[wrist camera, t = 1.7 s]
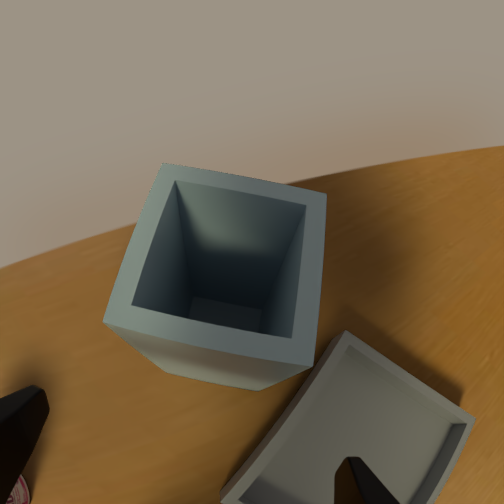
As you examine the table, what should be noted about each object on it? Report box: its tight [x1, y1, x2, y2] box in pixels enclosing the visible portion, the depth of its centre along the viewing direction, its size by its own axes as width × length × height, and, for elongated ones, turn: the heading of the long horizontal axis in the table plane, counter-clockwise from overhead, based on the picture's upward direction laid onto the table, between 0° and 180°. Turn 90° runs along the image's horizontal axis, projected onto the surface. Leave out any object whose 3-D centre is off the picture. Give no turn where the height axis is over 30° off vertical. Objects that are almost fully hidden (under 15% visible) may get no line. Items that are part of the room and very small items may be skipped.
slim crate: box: [103, 163, 327, 391], centre depth 15 cm, size 6×6×12 cm
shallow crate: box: [220, 330, 476, 504], centre depth 16 cm, size 13×13×2 cm
